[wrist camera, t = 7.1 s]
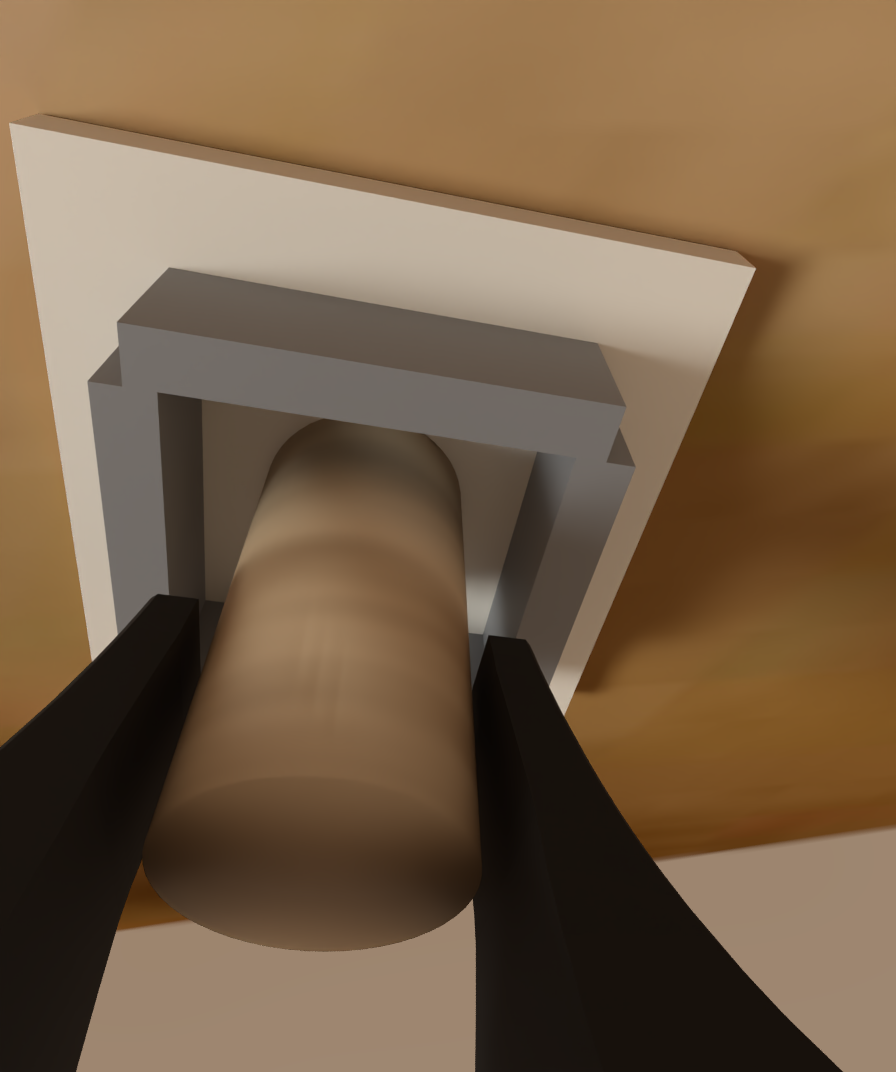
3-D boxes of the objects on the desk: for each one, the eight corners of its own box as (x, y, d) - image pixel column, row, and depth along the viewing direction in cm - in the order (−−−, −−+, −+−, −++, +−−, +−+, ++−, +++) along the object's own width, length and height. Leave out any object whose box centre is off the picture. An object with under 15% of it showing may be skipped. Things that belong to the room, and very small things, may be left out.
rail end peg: (443, 583, 17) (450, 959, 10) (264, 561, 16) (154, 942, 10) (477, 428, 14) (515, 793, 8) (269, 398, 14) (126, 759, 7)
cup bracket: (557, 691, 20) (576, 803, 17) (107, 638, 19) (50, 752, 16) (736, 251, 13) (818, 322, 10) (38, 113, 12) (-87, 152, 9)
